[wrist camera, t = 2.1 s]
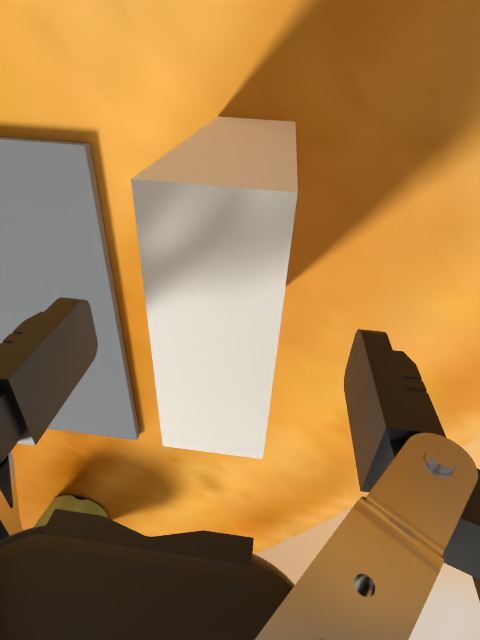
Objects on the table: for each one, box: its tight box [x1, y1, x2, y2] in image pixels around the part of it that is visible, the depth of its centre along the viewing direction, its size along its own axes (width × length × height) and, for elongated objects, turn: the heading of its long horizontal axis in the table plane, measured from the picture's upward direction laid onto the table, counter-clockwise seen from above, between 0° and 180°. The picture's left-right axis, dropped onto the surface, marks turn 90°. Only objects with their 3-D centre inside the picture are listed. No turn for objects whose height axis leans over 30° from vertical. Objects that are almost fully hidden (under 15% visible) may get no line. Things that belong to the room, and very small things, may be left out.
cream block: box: [131, 116, 298, 459], centre depth 15 cm, size 9×4×11 cm, turn 177°
